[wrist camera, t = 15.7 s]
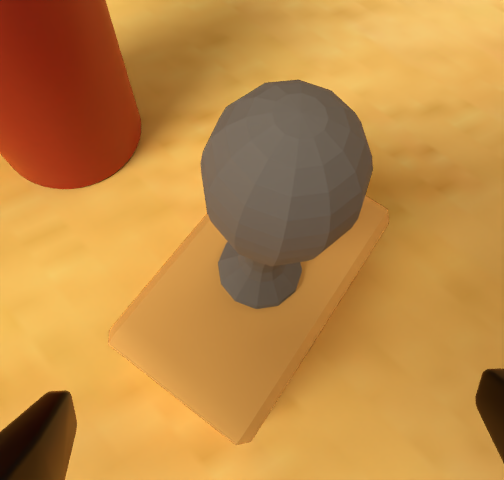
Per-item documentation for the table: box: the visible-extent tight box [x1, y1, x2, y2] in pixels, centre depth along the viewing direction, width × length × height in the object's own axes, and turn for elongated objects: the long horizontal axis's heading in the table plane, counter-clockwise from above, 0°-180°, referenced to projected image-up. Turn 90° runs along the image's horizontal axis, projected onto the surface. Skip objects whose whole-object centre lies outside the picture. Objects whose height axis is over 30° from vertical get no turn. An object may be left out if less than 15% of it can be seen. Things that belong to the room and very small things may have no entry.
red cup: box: [0, 0, 141, 189], centre depth 15 cm, size 7×7×12 cm
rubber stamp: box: [108, 80, 389, 445], centre depth 12 cm, size 10×6×12 cm, turn 145°
